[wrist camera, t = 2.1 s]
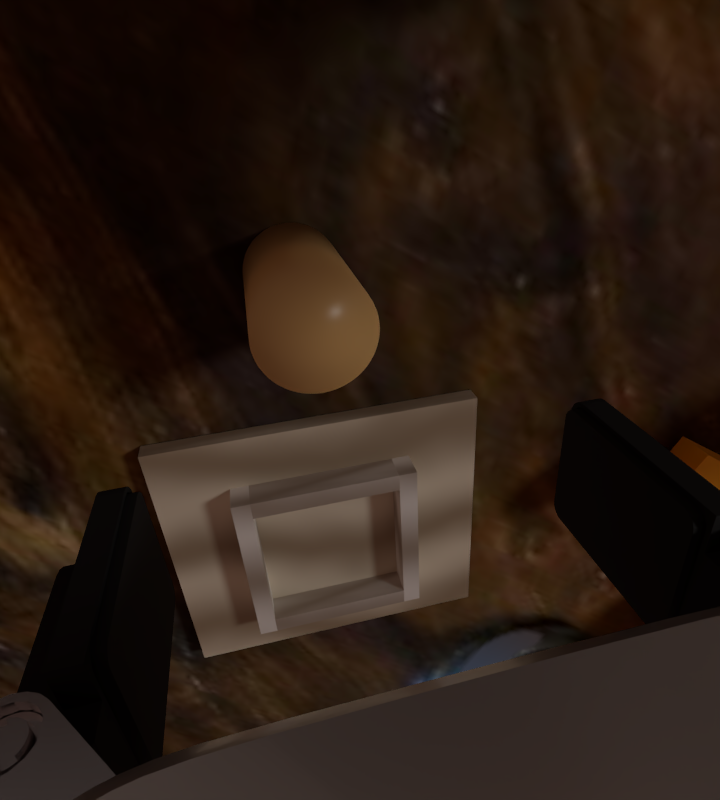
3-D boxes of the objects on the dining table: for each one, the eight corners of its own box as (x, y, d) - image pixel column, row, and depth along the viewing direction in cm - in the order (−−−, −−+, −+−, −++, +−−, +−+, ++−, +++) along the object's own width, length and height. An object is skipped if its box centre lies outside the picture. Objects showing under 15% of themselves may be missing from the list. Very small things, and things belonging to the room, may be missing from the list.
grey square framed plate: (140, 446, 28) (133, 476, 26) (470, 389, 31) (489, 412, 29) (205, 644, 36) (204, 680, 34) (462, 585, 39) (476, 615, 37)
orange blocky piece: (736, 462, 39) (819, 523, 34) (694, 507, 41) (767, 572, 35) (627, 406, 35) (703, 467, 29) (584, 460, 36) (649, 526, 31)
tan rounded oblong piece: (233, 229, 24) (236, 280, 17) (333, 216, 25) (374, 260, 18) (252, 324, 26) (261, 403, 20) (343, 310, 27) (383, 382, 20)
